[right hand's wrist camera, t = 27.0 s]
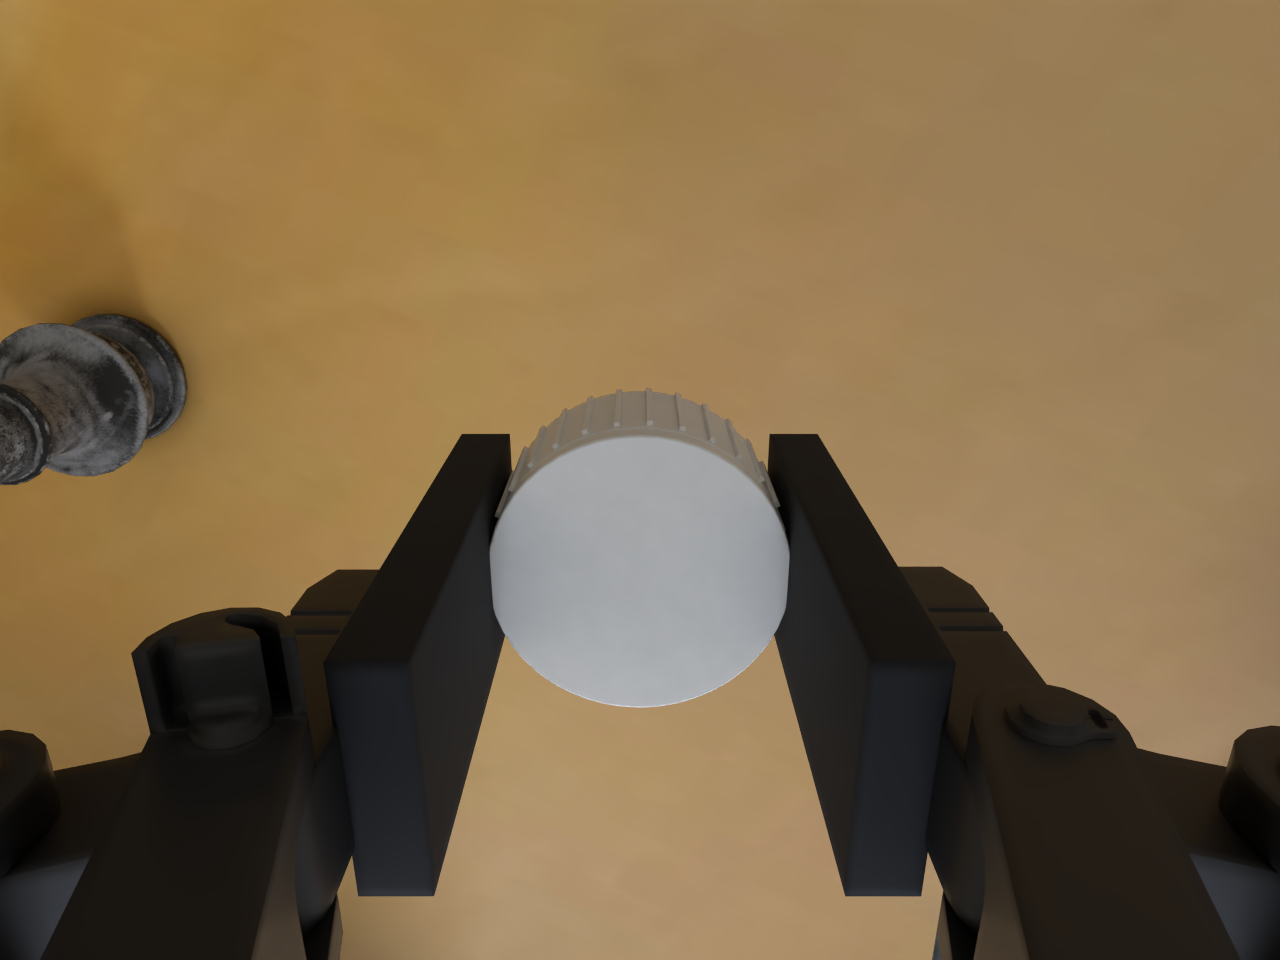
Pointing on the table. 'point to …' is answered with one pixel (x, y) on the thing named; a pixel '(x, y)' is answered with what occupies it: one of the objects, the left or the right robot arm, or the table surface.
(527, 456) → the cap
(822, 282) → the table surface
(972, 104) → the table surface
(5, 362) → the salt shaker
